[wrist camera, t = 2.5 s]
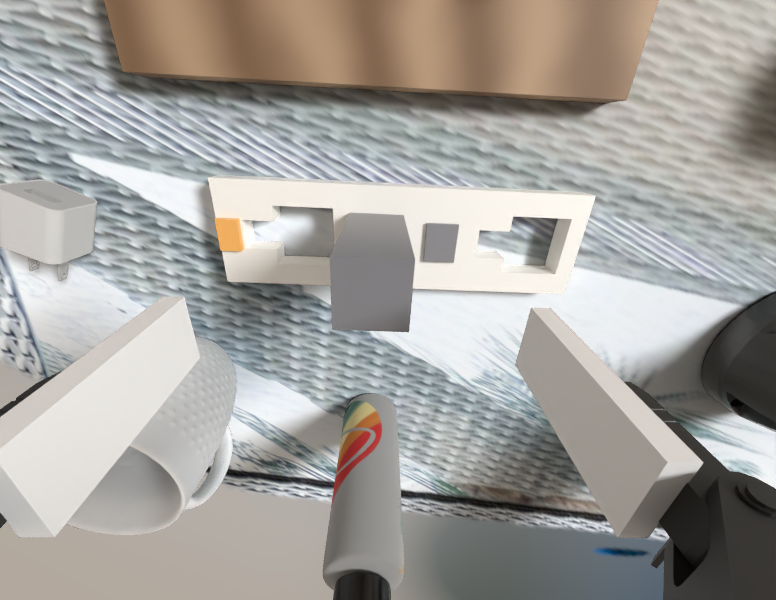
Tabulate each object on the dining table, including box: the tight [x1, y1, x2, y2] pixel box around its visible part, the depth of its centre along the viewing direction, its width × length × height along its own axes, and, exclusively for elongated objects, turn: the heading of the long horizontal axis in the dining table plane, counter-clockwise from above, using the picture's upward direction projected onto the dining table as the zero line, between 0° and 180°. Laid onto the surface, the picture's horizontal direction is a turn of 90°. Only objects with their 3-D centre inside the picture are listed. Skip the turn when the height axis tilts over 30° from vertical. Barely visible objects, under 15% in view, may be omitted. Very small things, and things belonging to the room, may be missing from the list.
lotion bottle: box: [323, 394, 404, 600], centre depth 27 cm, size 6×6×20 cm
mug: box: [66, 336, 237, 536], centre depth 27 cm, size 15×11×13 cm
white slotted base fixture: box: [208, 175, 596, 332], centre depth 21 cm, size 28×8×12 cm, turn 87°
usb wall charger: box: [0, 180, 97, 282], centre depth 25 cm, size 4×7×4 cm, turn 154°
